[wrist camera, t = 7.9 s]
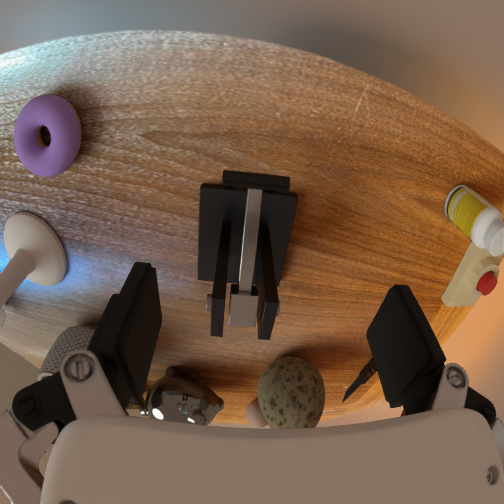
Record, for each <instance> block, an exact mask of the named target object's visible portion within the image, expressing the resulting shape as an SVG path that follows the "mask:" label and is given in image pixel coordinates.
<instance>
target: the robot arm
mask: <svg viewBox="0 0 504 504" xmlns="http://www.w3.org/2000/svg"><path fill="white" fill-rule="evenodd" d="M161 324H162V313H161V306H160V299H159V291H158V283H157V275H156V269H155V268H153V267H151V264H150V263H144V262H135V263H134V265H133V267H132V269H131V271H130V273H129V275H128V277H127V279H126V281H125V283H124V285H123V287H122V289H121V292H120V294H115V293H114V294H113V295H112V296H111V298H110V300H109V302H108V304H107V306H106V308H105V310H104V312H103V315H102V317H101V319H100V321H99V323H98V325H97V328H96V330H95V332H94V334H93V337H92V339H91V341H90V344H89V346H88V348H87V350H86V349H77V350H73V351H71V352H69V353H68V354H67V355H66V356H65V357H64V358H63V359H62V361H61V364H60V371H59V372H57V373H55V374H53V375H50V376H48V377H46V378H44V379H42V380H40V381H38V382H36V383H34V384H32V385H30V386H28V387H25V388H24V389H22V390H20V391H19V392H18V393H17V394H16V395H15V397H14V399H13V403H12V409H11V410H10V411H8V410H7V409H6V410H5V411H4V412H3V413H2V414H1V415H0V487H1V488H2V490H3V491H4V493H5V494H6V496H7V497H8V498H9V500H10V501H11V502H12V503H13V504H504V424H503V422H502V421H501V420H500V419H499V418H498V417H497V418H496V411H495V408H494V406H493V404H492V402H491V401H489V400H488V399H487V398H485V397H484V396H482V395H480V394H479V393H478V392H476V391H475V390H473V389H472V388H470V387H469V386H468V385H469V379H468V375H467V374H466V371H465V370H464V369H463V368H462V367H461V366H459V365H458V364H456V363H449V364H447V365H446V366H445V365H444V362H445V361H446V357H445V355H444V353H443V351H442V349H441V347H440V345H439V343H438V340H437V338H436V336H435V334H434V332H433V330H432V328H431V326H430V324H429V323H428V321H427V319H426V317H425V315H424V313H423V311H422V309H421V307H420V306H419V304H418V302H417V300H416V298H415V297H414V295H413V293H412V291H411V289H410V288H409V286H407V285H398V284H396V285H394V286H393V287H392V288H390V289H389V291H388V293H387V295H386V297H385V299H384V301H383V303H382V305H381V306H380V308H379V310H378V312H377V314H376V316H375V317H374V319H373V321H372V323H371V324H370V326H369V328H368V330H367V334H366V335H367V340H368V343H369V346H370V349H371V352H372V355H373V358H374V362H375V365H376V368H377V371H378V375H379V378H380V381H381V385H382V388H383V392H384V395H385V399H386V401H387V402H389V404H390V408H396V407H400V406H402V405H403V408H404V409H403V412H402V414H401V416H400V417H396V418H392V419H385V420H379V421H373V422H366V423H358V424H350V425H341V426H330V427H316V428H294V429H252V428H229V427H217V426H206V425H196V424H186V423H178V422H171V421H164V420H158V419H150V418H141V417H135V416H129V414H128V413H127V411H126V408H127V407H128V405H129V401H130V402H135V403H137V400H138V396H141V397H142V396H143V394H144V390H145V385H146V381H147V377H148V373H149V369H150V365H151V361H152V357H153V354H154V350H155V346H156V342H157V339H158V335H159V331H160V328H161ZM50 444H54V446H53V449H52V452H51V455H50V458H49V461H48V465H47V468H46V473H45V477H43V476H42V474H41V473H40V471H39V466H38V465H39V460H40V458H41V457H42V455H43V454H44V453H45V452H46V451H45V449H46V448H47V447H48V446H49V445H50Z"/></svg>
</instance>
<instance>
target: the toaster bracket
mask: <svg viewBox="0 0 504 504" xmlns="http://www.w3.org/2000/svg"><path fill="white" fill-rule="evenodd" d="M246 197H247V191H242V190H232V189H222V185H212V184H201V187H200V202H199V236H198V280H204V281H214V284H213V292H212V294H208V295H207V301H206V311H211V336H218V337H222V336H223V323H224V309H225V296H226V283H238V279H239V268H240V258H241V247H242V237H243V227H244V217H245V207H246ZM297 200H298V196H297V194H296V193H291V192H288V195H280V194H271V193H262V200H261V210H260V219H259V228H258V237H257V247H256V256H255V265H254V274H253V283H252V285H256V286H257V290H258V295H259V300H258V309H257V324H258V339H263V340H270V337H271V333H272V329H273V325H274V321H275V317H276V316H278V315H279V311H280V301H279V299H278V292H277V286H279V283H280V279H281V274H282V270H283V265H284V261H285V257H286V252H287V247H288V243H289V238H290V234H291V229H292V224H293V219H294V215H295V210H296V205H297Z"/></svg>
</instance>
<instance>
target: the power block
mask: <svg viewBox="0 0 504 504" xmlns="http://www.w3.org/2000/svg"><path fill="white" fill-rule="evenodd" d="M503 254H504V252H503V253H502V254H501V255H499V256H493V255H491V254H490V252H489V251H487V249H486V248H479V247H477V246H476V245H475V244H474V243H473V242H472V241H471V242H470V245H469V247H468V249H467V251H466V253H465V255H464V257H463V259H462V261H461V263H460V265H459V267H458V269H457V270H456V272H455V274H454V276H453V278H452V280H451V281H450V283H449V285H448V287H447V289H446V290H445V292H444V294H443V295H442V297H441V299H442V301H443V302H444V304H445V305H446V307H453V306H474V304H475V303H476V301H477V299H478V298H479V296H481V295H482V293H481V292H480V291H479V289H478V288H477V283H478V281H479V279H480V278H481V277H482V276H483V275H484V274H485V273H486V272H488V271H491V272H492V273H493V274H494V275H495V277H496V278H497V277H498V273H499V268H498V263H499V261H500V259H501V257H502V256H503Z"/></svg>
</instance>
